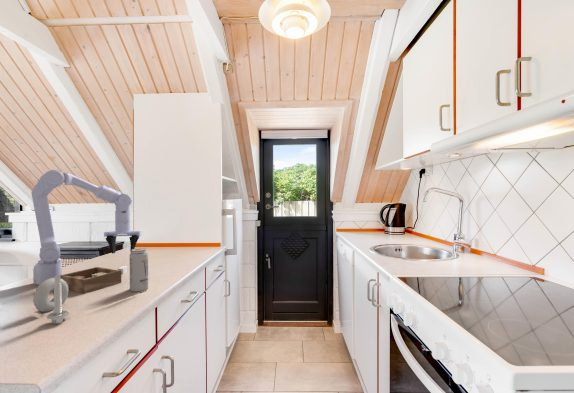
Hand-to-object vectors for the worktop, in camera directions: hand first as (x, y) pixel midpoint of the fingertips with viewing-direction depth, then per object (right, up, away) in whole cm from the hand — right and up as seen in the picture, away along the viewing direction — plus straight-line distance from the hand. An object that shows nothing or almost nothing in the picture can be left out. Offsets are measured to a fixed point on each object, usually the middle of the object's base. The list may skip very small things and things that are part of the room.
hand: (122, 252), depth 133 cm
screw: (+9, -10, -50) cm, 51 cm away
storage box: (-2, -10, -19) cm, 21 cm away
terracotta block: (-6, -9, -21) cm, 23 cm away
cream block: (0, -9, -16) cm, 18 cm away
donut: (+1, -10, -42) cm, 43 cm away
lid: (0, -10, 0) cm, 10 cm away
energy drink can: (+18, -10, -23) cm, 31 cm away
